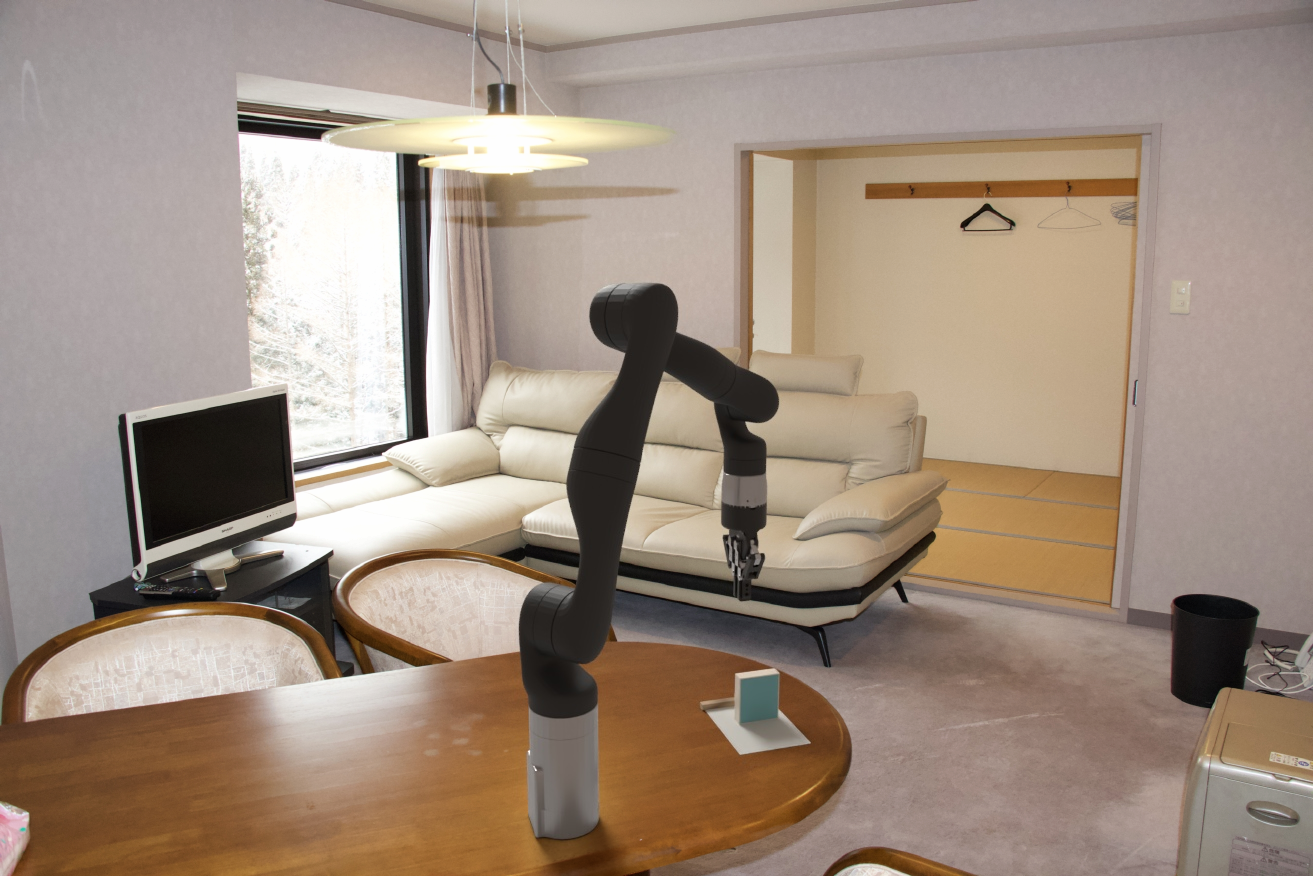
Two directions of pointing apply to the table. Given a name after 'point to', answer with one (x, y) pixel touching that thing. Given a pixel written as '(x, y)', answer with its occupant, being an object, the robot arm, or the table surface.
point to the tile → (756, 696)
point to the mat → (757, 732)
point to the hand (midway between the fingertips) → (742, 598)
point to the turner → (717, 703)
